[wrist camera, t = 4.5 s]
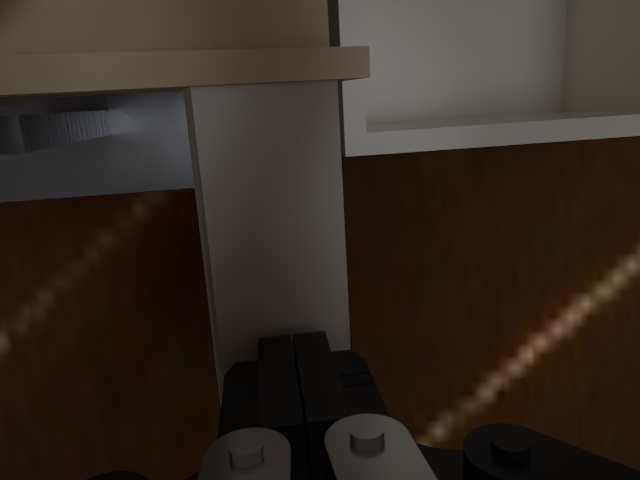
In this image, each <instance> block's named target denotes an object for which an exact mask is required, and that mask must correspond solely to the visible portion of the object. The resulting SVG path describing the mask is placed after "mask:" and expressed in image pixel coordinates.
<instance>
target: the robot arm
mask: <svg viewBox="0 0 640 480" xmlns="http://www.w3.org/2000/svg"><path fill="white" fill-rule="evenodd" d="M293 349H294V355H293ZM293 349H292V342H291V336H290V334H289V335H280V336H271V337H262V338H258V360H252V361H244V362H236V363H235V364H234V365H233V366H232V367H231V368H230V369H229V371H228V372H227V373H226V374H225V376H224V384H223V393H222V403H221V411H220V420H219V428H218V437H217V440H216V441H214V442H213V443H212V444H211V445H210V446H209V447H208V449H207V450H206V452H205V454H204V456H203V460H202V464H201V468H200V471H199V472H197V473H196V474H194V475H193V476H191V477H189V478H187V479H185V480H640V471H637V470H635V469H632V468H630V467H627V466H624V465H622V464H619V463H617V462H614V461H612V460H609V459H606V458H604V457H601V456H599V455H596V454H593V453H591V452H588V451H586V450H583V449H581V448H578V447H575V446H573V445H570V444H568V443H565V442H562V441H560V440H557V439H555V438H552V437H550V436H547V435H544V434H542V433H539V432H537V431H534V430H531V429H529V428H526V427H522V426H518V425H513V424H502V423H498V424H488V425H484V426H480V427H478V428H476V429H474V430H472V431H471V432H469V434H468V435H467V436H466V438H465V440H464V444H463V450H452V449H441V448H433V447H428V446H424V445H421V444H418V443H415V442H414V440H413V438H412V437H411V435H410V433H409V432H408V430H407V429H406V428H405V426H404V425H402V424H401V423H400V422H398V421H397V420H395V419H392V418H390V417H389V414H388V412H387V410H386V407H385V405H384V403H383V400H382V398H381V396H380V394H379V391H378V389H377V387H376V385H375V383H374V380H373V377H372V375H371V374H370V371H369V368H368V366H367V364H366V361H365V359H364V358H362V357H361V356H359V355H358V354H357V353H355V352H354V351H352V350H351V349H349V350H340V351H332V352H331V349H330V346H329V343H328V339H327V336H326V333H325V331H316V332H307V333H298V334H293ZM294 361H295V362H294ZM87 480H148V479H147V478H146V477H144V476H143V475H141V474H138V473H135V472H130V471H116V472H109V473H104V474H101V475H97V476H95V477H92V478H90V479H87Z"/></svg>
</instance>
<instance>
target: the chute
mask: <svg viewBox="0 0 640 480" xmlns="http://www.w3.org/2000/svg"><path fill="white" fill-rule="evenodd" d="M362 78H370V56H369V46H343V47H330V45H329V25H328V6H327V0H0V100H10V99H30V98H50V97H70V96H90V95H109V94H129V93H149V92H169V91H183V95H184V103H185V111H186V120H187V128H188V137H189V145H190V153H191V162H192V170H193V179H194V187H195V195H196V204H197V212H198V221H199V229H200V237H201V246H202V254H203V263H204V271H205V279H206V288H207V296H208V305H209V313H210V321H211V330H212V338H213V347H214V355H215V363H216V372H217V380H218V389H219V397H220V405H221V403H222V393H223V384H224V376H225V374H226V373H227V372H228V371H229V369H230V368H231V367H232V366H233V365H234V364H235V363H236V362H244V361H252V360H258V338H262V337H271V336H280V335H289V334H290V336H291V342H292V349H293V334H298V333H307V332H316V331H325V333H326V336H327V339H328V343H329V346H330V349H331V352H332V351H340V350H349V349H351V346H350V325H349V305H348V285H347V264H346V244H345V223H344V203H343V182H342V162H341V142H340V121H339V101H338V82H339V81H347V80H355V79H362ZM293 355H294V349H293ZM294 362H295V361H294Z"/></svg>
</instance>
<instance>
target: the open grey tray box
mask: <svg viewBox="0 0 640 480" xmlns="http://www.w3.org/2000/svg"><path fill="white" fill-rule="evenodd" d="M327 6H328V25H329V45H330V47H343V46H369V56H370V78H362V79H355V80H347V81H339V82H338V101H339V121H340V142H341V154H342V155H343V156H345V157H350V156H364V155H377V154H391V153H405V152H419V151H433V150H447V149H461V148H475V147H489V146H503V145H516V144H530V143H544V142H558V141H572V140H586V139H600V138H614V137H628V136H640V0H327Z"/></svg>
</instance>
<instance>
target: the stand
mask: <svg viewBox="0 0 640 480" xmlns="http://www.w3.org/2000/svg"><path fill="white" fill-rule="evenodd" d="M186 188H195V187H194V179H193V170H192V162H191V153H190V145H189V137H188V128H187V120H186V111H185V103H184V95H183V91H169V92H149V93H129V94H109V95H90V96H70V97H50V98H30V99H10V100H0V202H13V201H27V200H40V199H53V198H66V197H80V196H93V195H106V194H119V193H133V192H146V191H159V190H172V189H186Z"/></svg>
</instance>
